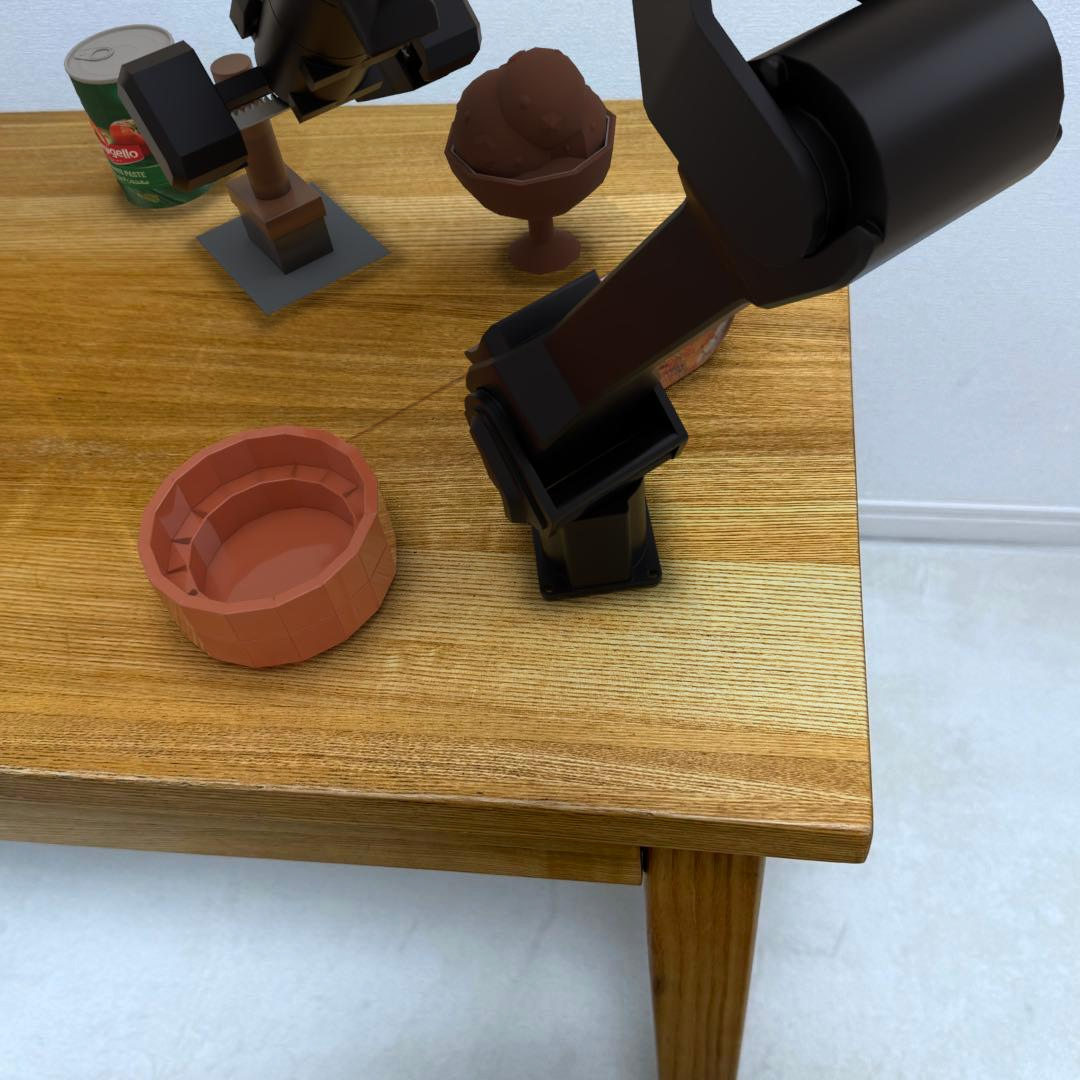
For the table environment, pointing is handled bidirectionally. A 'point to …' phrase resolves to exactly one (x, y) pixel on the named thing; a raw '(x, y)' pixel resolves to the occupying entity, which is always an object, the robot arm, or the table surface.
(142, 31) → the canned tomato
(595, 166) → the ice cream bowl
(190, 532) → the bowl
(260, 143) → the brush
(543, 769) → the table surface
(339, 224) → the mat
